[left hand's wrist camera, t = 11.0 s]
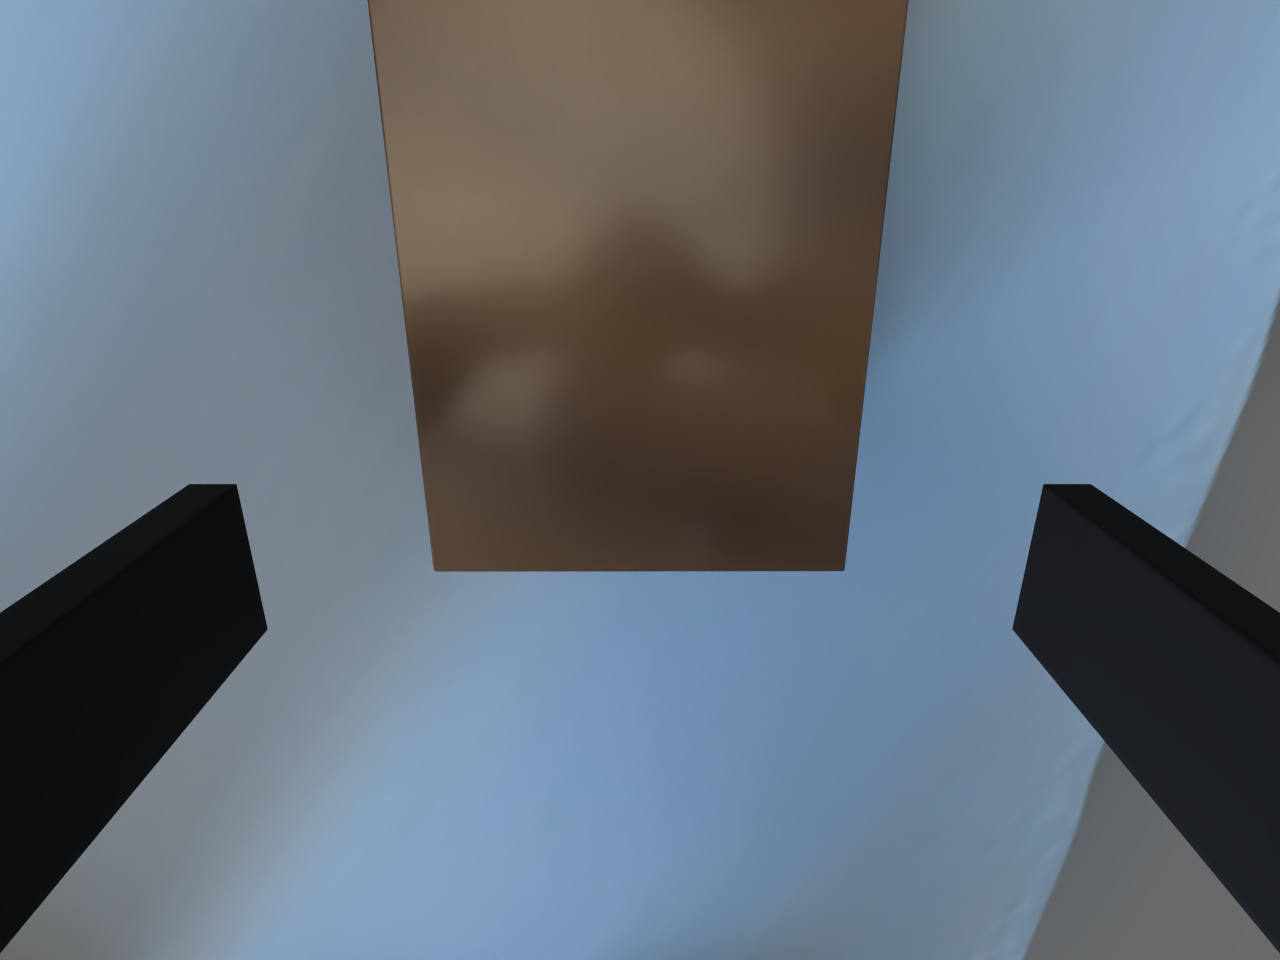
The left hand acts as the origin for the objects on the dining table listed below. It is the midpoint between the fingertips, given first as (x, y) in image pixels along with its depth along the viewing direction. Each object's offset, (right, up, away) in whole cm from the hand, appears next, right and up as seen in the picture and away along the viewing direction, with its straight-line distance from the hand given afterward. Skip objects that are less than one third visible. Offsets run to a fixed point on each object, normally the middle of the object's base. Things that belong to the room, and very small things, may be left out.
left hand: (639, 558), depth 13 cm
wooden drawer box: (0, +13, +13) cm, 18 cm away
